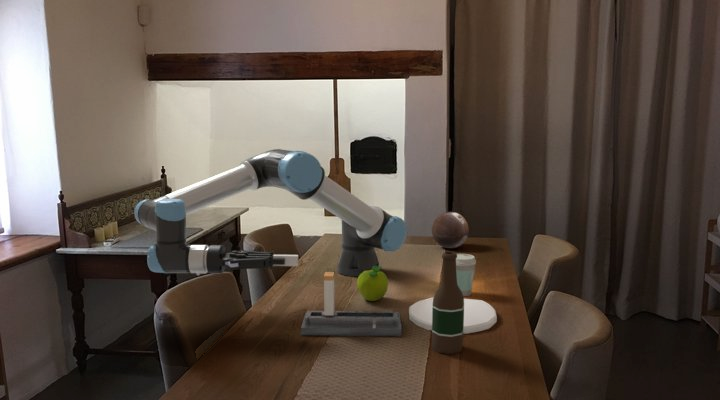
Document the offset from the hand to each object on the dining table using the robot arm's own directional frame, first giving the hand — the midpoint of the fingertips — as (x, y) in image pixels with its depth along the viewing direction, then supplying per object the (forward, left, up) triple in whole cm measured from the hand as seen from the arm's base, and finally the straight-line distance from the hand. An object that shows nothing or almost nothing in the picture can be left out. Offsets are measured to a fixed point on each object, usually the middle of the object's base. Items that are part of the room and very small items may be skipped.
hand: (297, 260), depth 167 cm
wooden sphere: (-50, +95, -19) cm, 109 cm away
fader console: (+7, +12, -18) cm, 23 cm away
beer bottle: (+32, +24, -19) cm, 44 cm away
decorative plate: (+15, +40, -19) cm, 47 cm away
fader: (+4, +7, -16) cm, 18 cm away
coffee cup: (0, +57, -19) cm, 60 cm away
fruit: (-10, +30, -19) cm, 37 cm away
